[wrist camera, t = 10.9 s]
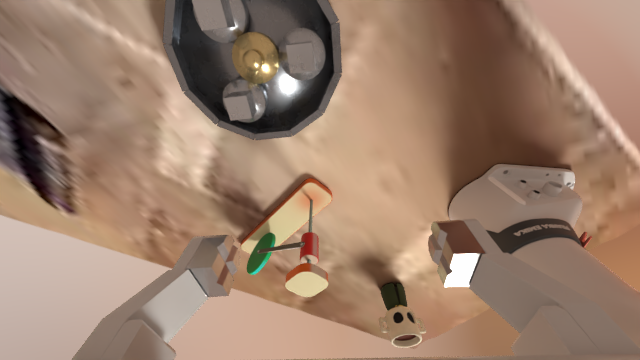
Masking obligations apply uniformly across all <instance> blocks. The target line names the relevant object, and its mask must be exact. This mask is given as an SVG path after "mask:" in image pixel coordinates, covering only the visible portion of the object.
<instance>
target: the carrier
mask: <svg viewBox="0 0 640 360" xmlns="http://www.w3.org/2000/svg"><path fill="white" fill-rule="evenodd" d="M337 21H338V18H337V16H336V14H335V13H334V11H333V9H332V7H331V6H330V4H329V2H328V0H166V3H165V17H164V32H163V43H166V44H164V48H165V50H166V52H167V55H168V57H169V60H170V62H171V65H172V67H173V70H174V72H175V74H176V77H177V79H178V82H179V84H180V87H181V89H182V91H185V92H184V94H185V95H186V96H187V97H188V98H189V99H190V100H191V101H192V102H193V103H194V104H195V105H196V106H197V107H198V108H199V109H200V110H201V111H202V112H203V113H204V114H205V115H206V116H207V117H208V118H209V119H210V120H211V121H212V122H213V123H214V124H215V125H216V124H217V123H218V125H217V126H219V127H222V128H224V129H227V130H230V131H232V132H235V133H237V134H240V135H243V136H245V137H248V138H250V139H253V140H254V139H256V140H262V139H272V138H282V137H292V135H293V136H294V135H295V134H296V133H298V132H299V131H301V130H302V129H303V128H305V127H306V126H308V125H309V124H310V123H312V122H313V121H315V120H316V119H317V118H319V117H320V116H322V115H323V113H324V112H325V110H326V108H327V106H328V103H329V101H330V99H331V97H332V95H333V93H334V90H335V88H336V86H337V84H338V82H339V79H340V77H341V73H342V66H341V46H340V25H339V23H336V22H337ZM296 28H308V29H311V30H312V31H314V32H315V33H317V34H318V36H319V37H320V38H321V40H322V42H323V44H324V48H325V62H324V66H323V68H322V70H321V71H320V72H319V74H318V75H316V76H315V77H314V78H312V79H309V80H297V79H294V78H292V77H290V76H289V75H288V74H287V73H286V72H285V71H284V69H283V68H282V66H281V63H280V60H279V46H280V43H281V41H282V39H283V37H284V36H285V35H286V34H287V33H288V32H289V31H291V30H293V29H296Z"/></svg>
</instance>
